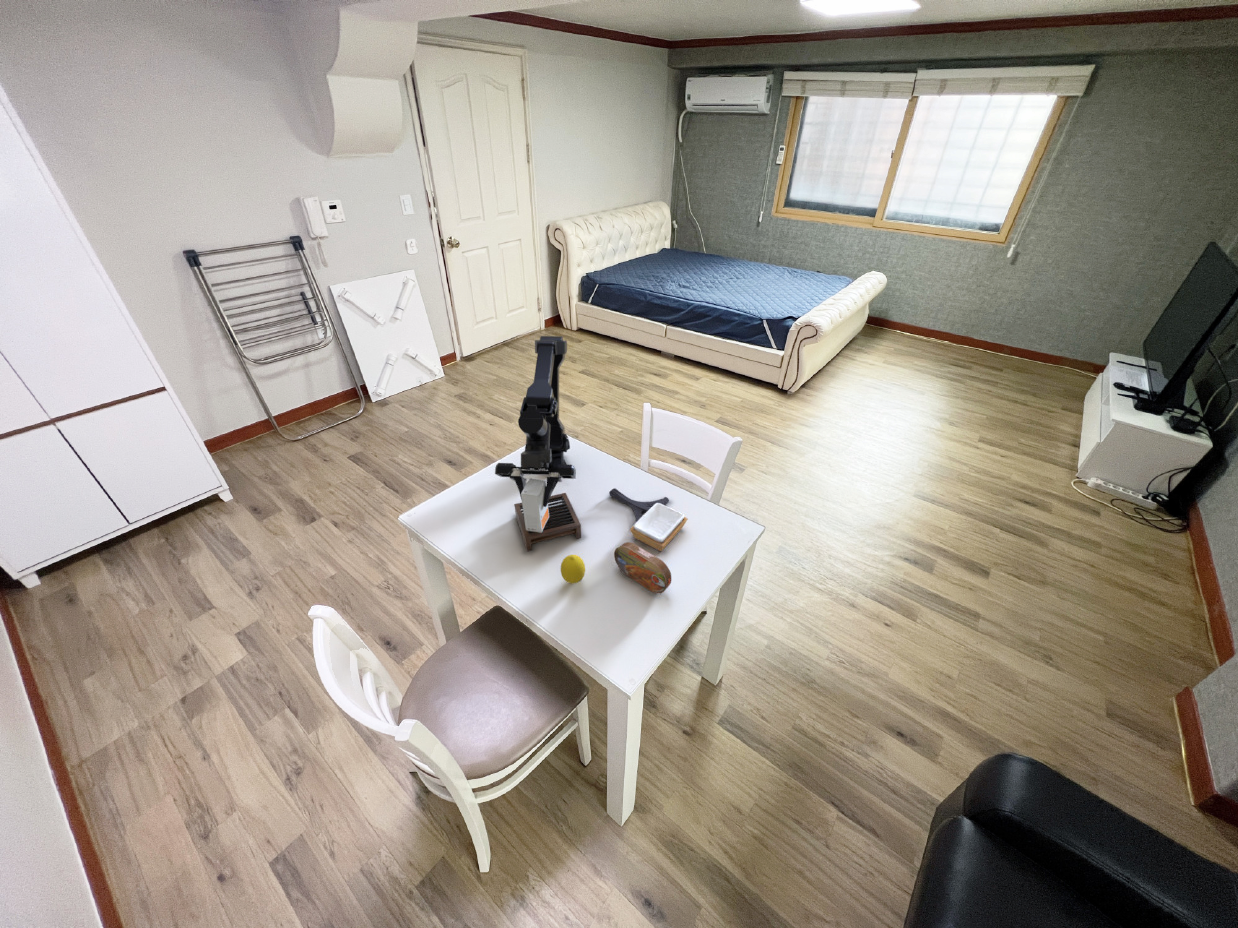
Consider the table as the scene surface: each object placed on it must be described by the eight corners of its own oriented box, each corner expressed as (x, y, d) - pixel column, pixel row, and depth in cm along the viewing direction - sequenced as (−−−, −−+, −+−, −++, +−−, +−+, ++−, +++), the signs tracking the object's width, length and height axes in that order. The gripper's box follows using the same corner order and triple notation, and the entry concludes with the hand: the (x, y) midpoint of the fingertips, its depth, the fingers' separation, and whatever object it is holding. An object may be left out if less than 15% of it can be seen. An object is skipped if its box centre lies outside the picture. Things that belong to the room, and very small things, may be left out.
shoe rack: (515, 516, 130) (514, 504, 128) (566, 505, 135) (565, 492, 132) (527, 551, 120) (525, 538, 118) (581, 537, 125) (580, 524, 122)
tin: (613, 566, 117) (613, 541, 112) (621, 559, 119) (622, 534, 114) (663, 600, 109) (666, 574, 104) (672, 592, 111) (675, 566, 106)
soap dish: (655, 513, 132) (656, 499, 129) (687, 528, 128) (688, 514, 125) (629, 540, 124) (629, 525, 121) (662, 557, 119) (663, 542, 116)
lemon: (573, 568, 116) (571, 544, 111) (590, 580, 113) (589, 555, 109) (556, 582, 113) (554, 558, 108) (574, 594, 110) (572, 570, 105)
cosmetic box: (542, 533, 119) (537, 496, 112) (525, 530, 120) (519, 493, 113) (550, 516, 124) (546, 480, 117) (534, 514, 125) (529, 477, 117)
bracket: (625, 482, 143) (625, 475, 141) (668, 502, 136) (669, 495, 134) (594, 509, 134) (594, 501, 132) (639, 531, 127) (640, 523, 125)
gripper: (491, 434, 111) (486, 503, 109) (572, 436, 111) (569, 505, 109) (502, 444, 122) (498, 506, 120) (577, 446, 122) (574, 508, 120)
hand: (534, 506), depth 117 cm, fingers closed on cosmetic box, 5 cm apart
